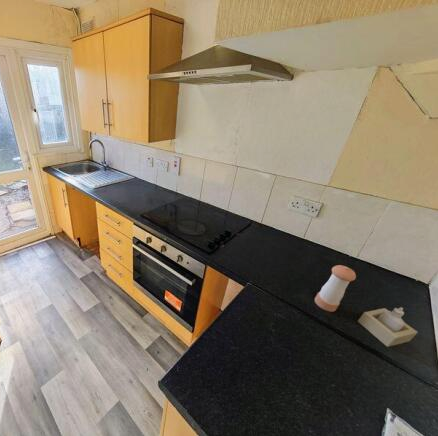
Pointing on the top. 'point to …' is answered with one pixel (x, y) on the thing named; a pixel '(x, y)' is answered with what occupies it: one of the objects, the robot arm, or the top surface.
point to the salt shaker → (334, 288)
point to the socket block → (385, 329)
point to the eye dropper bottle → (392, 319)
